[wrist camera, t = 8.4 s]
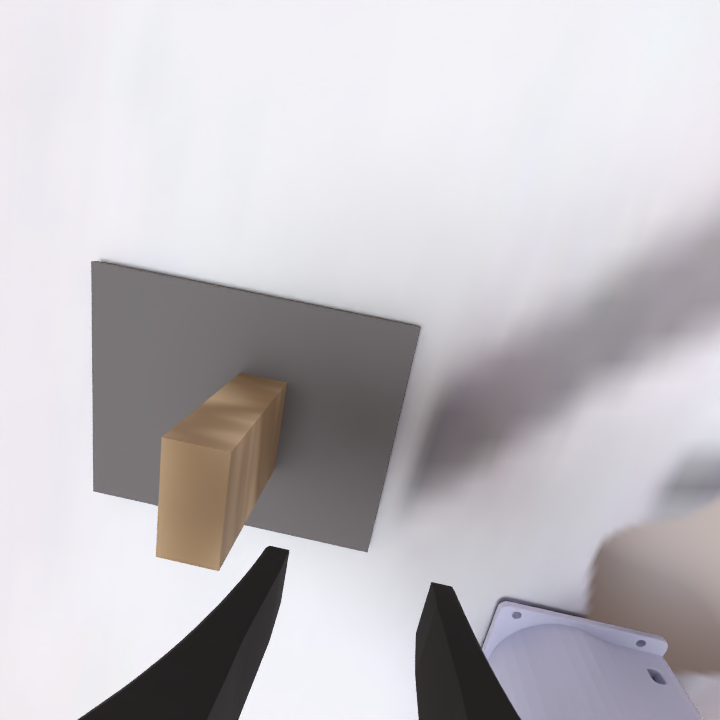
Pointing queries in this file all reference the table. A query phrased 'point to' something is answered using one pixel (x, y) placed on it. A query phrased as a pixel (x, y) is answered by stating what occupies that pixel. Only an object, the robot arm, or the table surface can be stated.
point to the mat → (258, 358)
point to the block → (217, 470)
